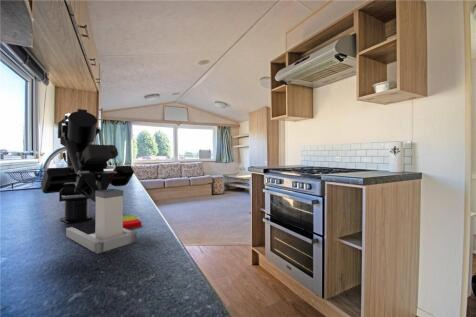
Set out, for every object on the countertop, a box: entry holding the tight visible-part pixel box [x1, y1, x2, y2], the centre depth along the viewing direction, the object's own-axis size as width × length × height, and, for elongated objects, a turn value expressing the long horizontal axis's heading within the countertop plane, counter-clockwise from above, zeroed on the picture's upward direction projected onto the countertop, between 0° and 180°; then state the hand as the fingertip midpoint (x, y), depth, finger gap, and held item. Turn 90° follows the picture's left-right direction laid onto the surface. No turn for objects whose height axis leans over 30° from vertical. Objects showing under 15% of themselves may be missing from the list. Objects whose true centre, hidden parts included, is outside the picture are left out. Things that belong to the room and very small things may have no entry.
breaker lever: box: [94, 188, 124, 241], centre depth 52 cm, size 4×4×11 cm
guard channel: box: [65, 226, 137, 255], centre depth 55 cm, size 16×8×2 cm, turn 55°
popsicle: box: [123, 214, 142, 230], centre depth 69 cm, size 6×15×2 cm, turn 37°
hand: (103, 205), depth 53 cm, fingers closed, pressing on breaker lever
